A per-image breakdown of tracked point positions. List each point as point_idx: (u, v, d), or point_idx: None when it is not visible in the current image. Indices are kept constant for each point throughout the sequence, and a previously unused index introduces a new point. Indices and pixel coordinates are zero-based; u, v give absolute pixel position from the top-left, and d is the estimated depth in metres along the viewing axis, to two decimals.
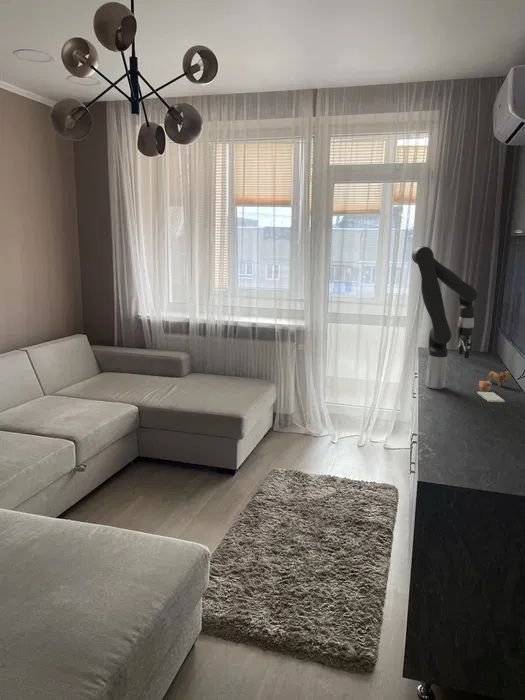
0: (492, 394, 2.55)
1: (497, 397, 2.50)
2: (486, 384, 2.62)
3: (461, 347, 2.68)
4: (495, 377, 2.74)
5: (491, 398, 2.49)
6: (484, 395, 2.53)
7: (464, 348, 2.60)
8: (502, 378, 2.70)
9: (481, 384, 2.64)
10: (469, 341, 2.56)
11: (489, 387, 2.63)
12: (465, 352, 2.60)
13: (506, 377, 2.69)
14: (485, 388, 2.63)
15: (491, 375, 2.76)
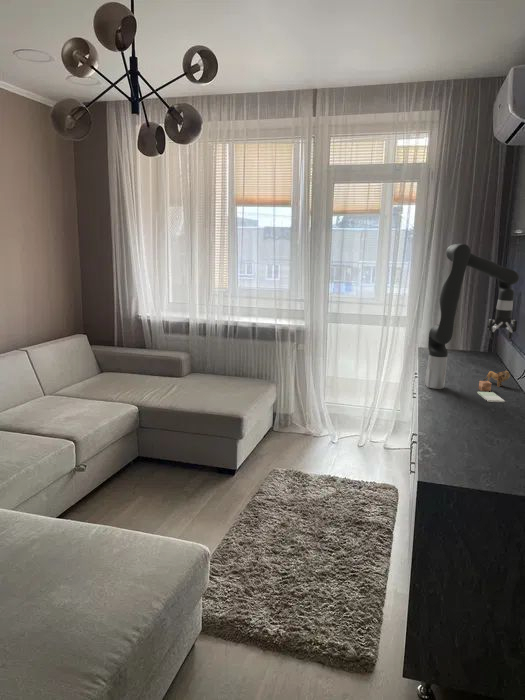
0: (492, 394, 2.55)
1: (497, 397, 2.50)
2: (486, 384, 2.62)
3: None
4: (494, 377, 2.74)
5: (491, 398, 2.49)
6: (484, 395, 2.53)
7: (510, 330, 2.66)
8: (501, 378, 2.70)
9: (481, 384, 2.64)
10: None
11: (489, 387, 2.63)
12: (510, 333, 2.66)
13: (505, 377, 2.69)
14: (485, 388, 2.63)
15: (490, 375, 2.77)
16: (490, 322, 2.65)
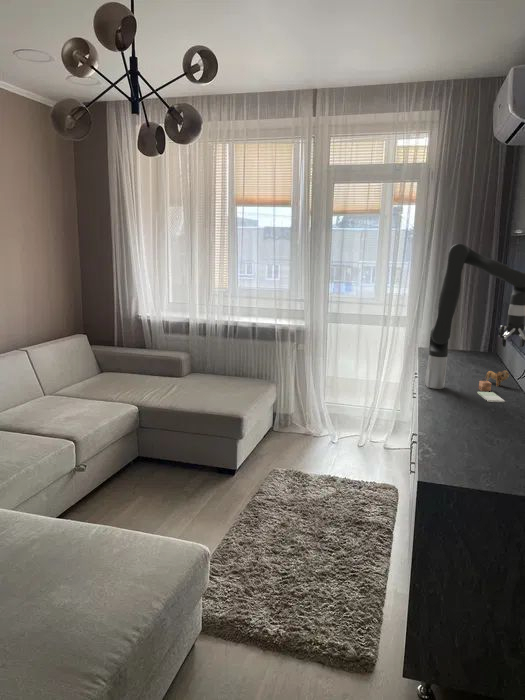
0: (492, 394, 2.55)
1: (497, 397, 2.50)
2: (486, 384, 2.62)
3: None
4: (493, 376, 2.75)
5: (491, 398, 2.49)
6: (484, 395, 2.53)
7: (523, 337, 2.45)
8: (500, 378, 2.71)
9: (481, 384, 2.64)
10: None
11: (489, 387, 2.63)
12: (523, 341, 2.46)
13: (504, 376, 2.70)
14: (485, 388, 2.63)
15: (489, 374, 2.77)
16: (501, 329, 2.45)
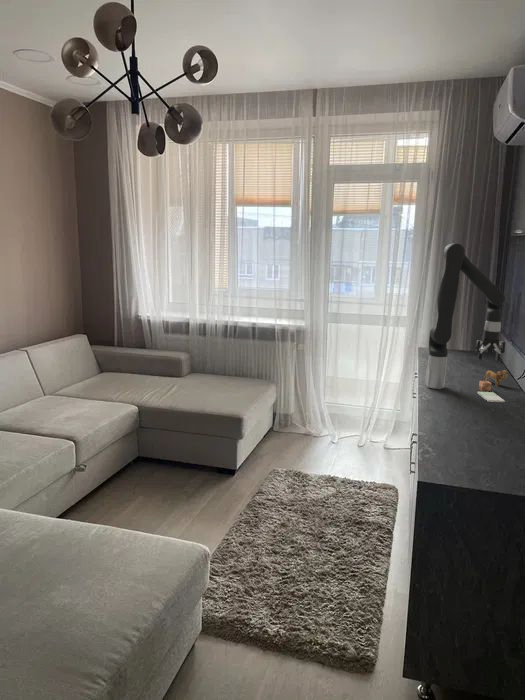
0: (492, 394, 2.55)
1: (497, 397, 2.50)
2: (486, 384, 2.62)
3: None
4: (492, 376, 2.75)
5: (491, 398, 2.49)
6: (484, 395, 2.53)
7: (498, 351, 2.59)
8: (499, 377, 2.71)
9: (481, 384, 2.64)
10: None
11: (489, 387, 2.63)
12: (498, 355, 2.60)
13: (503, 376, 2.70)
14: (485, 388, 2.63)
15: (488, 374, 2.78)
16: (477, 343, 2.59)
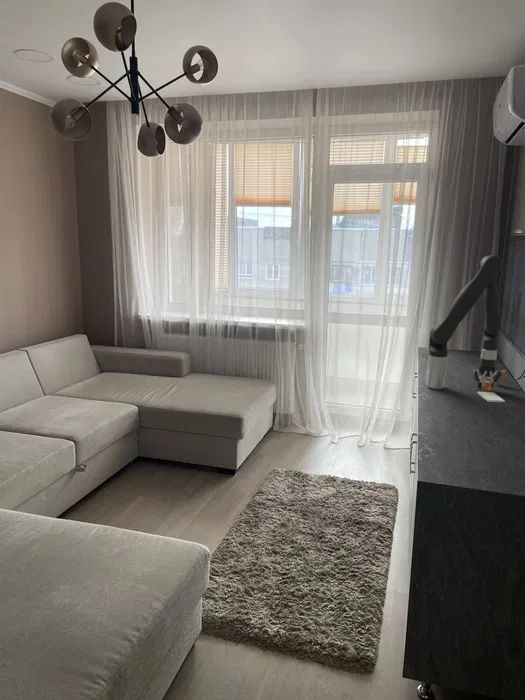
0: (492, 394, 2.55)
1: (497, 397, 2.50)
2: (486, 384, 2.62)
3: None
4: None
5: (491, 398, 2.49)
6: (484, 395, 2.53)
7: (491, 380, 2.63)
8: None
9: None
10: None
11: (489, 387, 2.63)
12: (491, 384, 2.64)
13: (502, 376, 2.71)
14: (485, 388, 2.63)
15: None
16: (475, 373, 2.63)
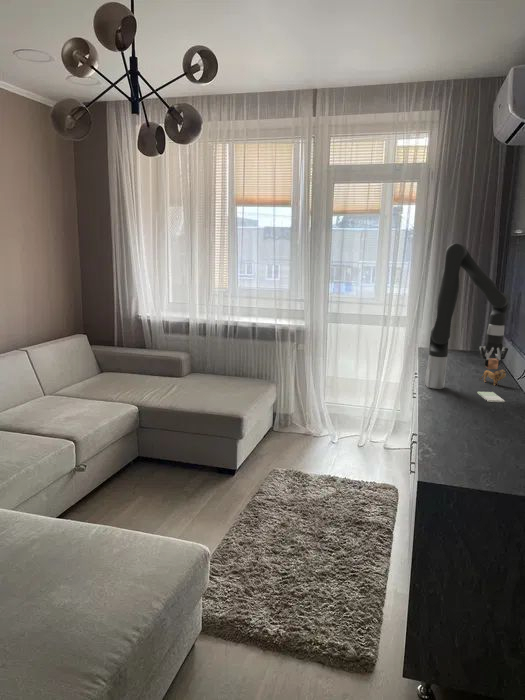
0: (492, 394, 2.55)
1: (497, 397, 2.50)
2: (493, 361, 2.50)
3: None
4: (490, 376, 2.76)
5: (491, 398, 2.49)
6: (484, 395, 2.53)
7: (498, 357, 2.51)
8: (497, 377, 2.73)
9: (488, 361, 2.52)
10: None
11: (496, 364, 2.50)
12: None
13: (501, 376, 2.71)
14: (492, 365, 2.51)
15: (486, 374, 2.79)
16: (481, 350, 2.50)
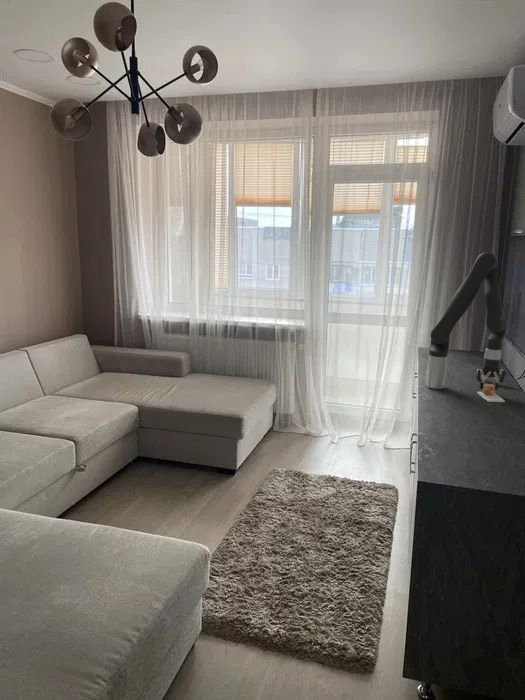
0: None
1: (497, 397, 2.50)
2: (489, 387, 2.53)
3: None
4: None
5: (491, 398, 2.49)
6: (484, 395, 2.53)
7: (497, 380, 2.53)
8: None
9: (484, 387, 2.55)
10: None
11: (493, 391, 2.53)
12: (497, 384, 2.54)
13: None
14: (488, 392, 2.54)
15: None
16: (478, 373, 2.53)
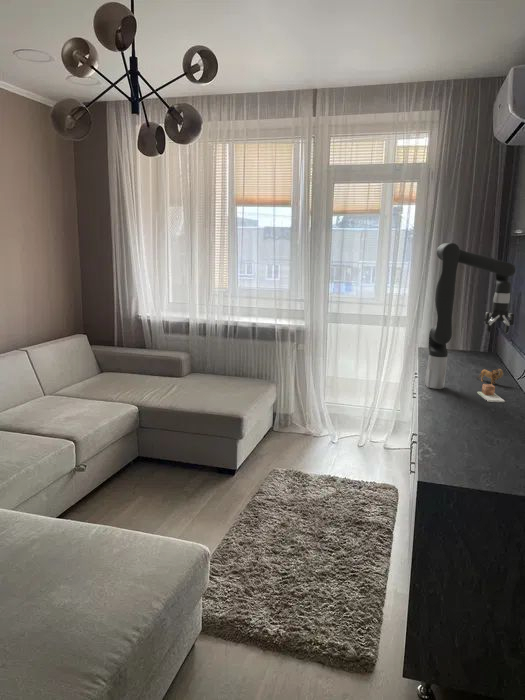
0: None
1: (497, 397, 2.50)
2: (489, 387, 2.53)
3: None
4: (488, 375, 2.78)
5: (491, 398, 2.49)
6: (484, 395, 2.53)
7: (507, 323, 2.61)
8: (495, 376, 2.74)
9: (484, 387, 2.55)
10: None
11: (493, 391, 2.53)
12: (507, 327, 2.62)
13: (499, 375, 2.73)
14: (488, 392, 2.54)
15: (484, 373, 2.80)
16: (487, 315, 2.61)
